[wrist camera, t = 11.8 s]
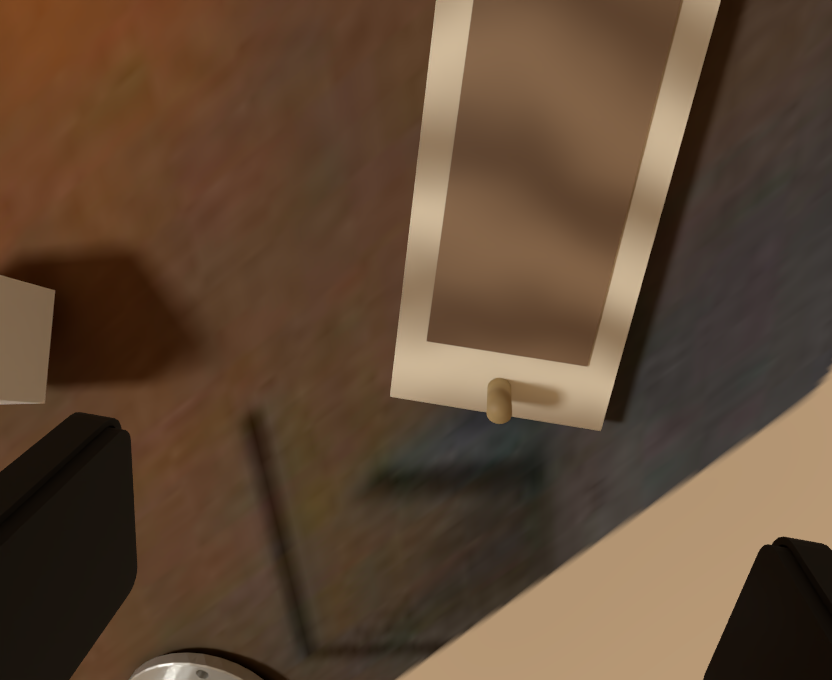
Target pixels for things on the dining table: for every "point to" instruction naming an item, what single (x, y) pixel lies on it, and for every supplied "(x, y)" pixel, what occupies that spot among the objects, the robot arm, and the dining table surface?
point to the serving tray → (540, 198)
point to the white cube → (24, 340)
